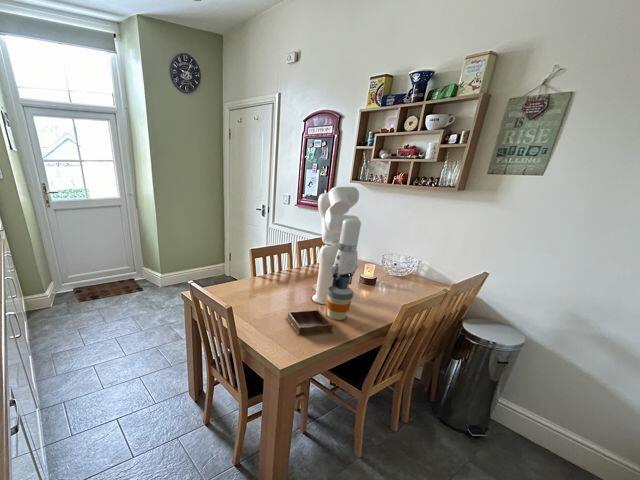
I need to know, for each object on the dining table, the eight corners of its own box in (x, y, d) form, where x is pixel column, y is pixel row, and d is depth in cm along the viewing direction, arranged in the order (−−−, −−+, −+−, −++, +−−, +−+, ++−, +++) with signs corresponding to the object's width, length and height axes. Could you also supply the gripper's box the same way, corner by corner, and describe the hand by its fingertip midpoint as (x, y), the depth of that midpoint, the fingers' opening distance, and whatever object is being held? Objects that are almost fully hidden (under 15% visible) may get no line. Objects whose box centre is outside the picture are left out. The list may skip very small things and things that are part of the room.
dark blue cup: (344, 284, 155) (346, 272, 152) (351, 289, 149) (353, 277, 146) (331, 284, 154) (333, 272, 151) (337, 290, 148) (339, 278, 145)
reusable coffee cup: (327, 308, 177) (331, 283, 171) (351, 314, 171) (356, 288, 165) (320, 318, 167) (324, 291, 161) (345, 324, 161) (350, 296, 155)
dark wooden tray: (317, 316, 168) (318, 309, 167) (331, 332, 154) (332, 325, 152) (287, 319, 165) (288, 311, 164) (298, 335, 151) (299, 327, 149)
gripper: (339, 252, 137) (333, 291, 144) (368, 247, 144) (361, 284, 152) (326, 247, 142) (321, 285, 150) (355, 243, 150) (349, 279, 158)
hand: (341, 284), depth 151 cm, fingers closed on dark blue cup, 7 cm apart
